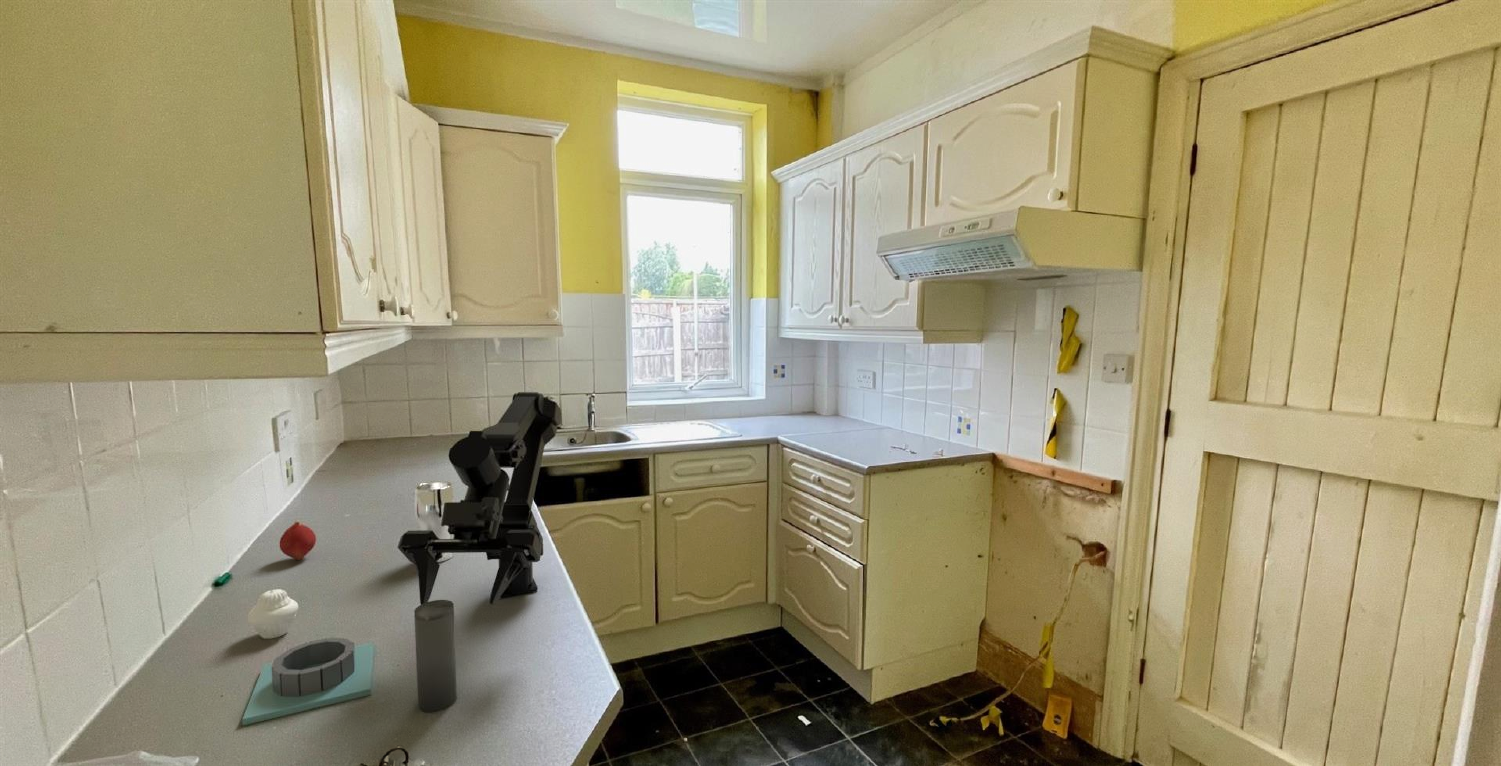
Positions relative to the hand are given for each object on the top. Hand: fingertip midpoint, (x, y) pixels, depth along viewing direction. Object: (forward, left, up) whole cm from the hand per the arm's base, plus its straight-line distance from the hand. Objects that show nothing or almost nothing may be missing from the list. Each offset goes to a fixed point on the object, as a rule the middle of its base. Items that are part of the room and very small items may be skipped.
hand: (457, 604), depth 85 cm
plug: (+7, -3, -9) cm, 12 cm away
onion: (-56, -25, -10) cm, 63 cm away
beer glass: (-45, -1, -10) cm, 46 cm away
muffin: (-23, -24, -10) cm, 35 cm away
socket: (-5, -17, -9) cm, 20 cm away
